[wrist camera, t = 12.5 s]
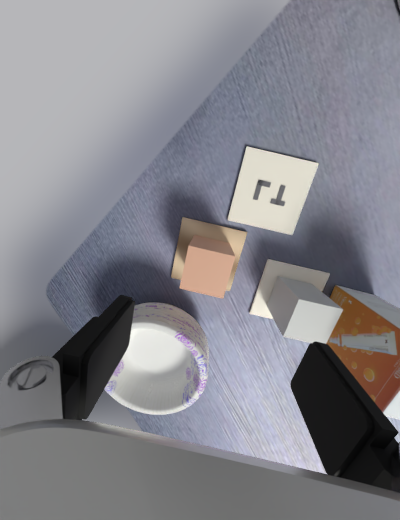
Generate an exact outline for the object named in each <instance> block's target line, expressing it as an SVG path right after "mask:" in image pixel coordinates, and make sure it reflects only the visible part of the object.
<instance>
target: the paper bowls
mask: <svg viewBox="0 0 400 520" xmlns="http://www.w3.org/2000/svg"><path fill="white" fill-rule="evenodd" d="M208 363H209V348H208V342H207V338H206V335H205V333H204V331H203V329H202V328H201V326H200V325H199V324H198V322H197V321H196V320H195V319H194V318H193V317H192V316H191V315H189V314H188V313H186V312H185V311H183V310H182V309H180V308H177V307H175V306H173V305H169V304H165V303H158V302H152V303H151V302H149V303H142V304H139V305H135V307H134V314H133V321H132V328H131V335H130V342H129V346H128V348H127V350H126V352H125V354H124V356H123V357H122V359H121V361H120V363H119V364H118V366H117V368H116V369H115V371H114V373H113V375H112V376H111V378H110V380H109V382H108V383H107V385H106V387H105V390H106V392H107V393H108V394H109V395H110V396H111V397H113V398H114V399H115V400H116V401H118V402H119V403H120V404H122V405H124V406H126V407H128V408H130V409H132V410H135V411H138V412H142V413H146V414H154V415H164V414H171V413H175V412H178V411H181V410H183V409H185V408H187V407H189V406H190V405H192V404H193V403H194V402H195V401H196V400H197V399H198V398H199V397H200V395H201V394H202V392H203V391H204V389H205V386H206V383H207V378H208Z"/></svg>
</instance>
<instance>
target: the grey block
mask: <svg viewBox="0 0 400 520" xmlns="http://www.w3.org/2000/svg"><path fill="white" fill-rule="evenodd" d="M267 307H268V309H269V311H270V313H271V315H272V317H273V319H274V321H275V322H276V324H277V326H278V328H279V330H280V332H281V334H282V335H283V337H287V338H291V339H295V340H300V341H304V342H308V343H313V342H315V341H317V342H321V343H325V344H326V343H327V341H328V339H329V337H330V335H331V333H332V331H333V329H334V327H335V325H336V323H337V321H338V319H339V317H340V315H341V313H342V311H343V309H342V308H341V307H340V306H339V305H337V304H336V303H335V302H334V301H332V300H331V299H330V298H329V297H327V296H326V295H325V294H324V293H322V292H321V291H320V290H319V289H318V288H316V287H315V286H314V285H313V284H311V283H307V282H302V281H298V280H294V279H289V278H285V277H281V276H278V277H277V279H276V282H275V285H274V287H273V290H272V293H271V296H270V298H269V301H268V304H267Z"/></svg>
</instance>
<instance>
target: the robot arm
mask: <svg viewBox="0 0 400 520" xmlns="http://www.w3.org/2000/svg"><path fill="white" fill-rule="evenodd" d="M397 1H398V5H399V9H400V0H397ZM134 307H135V301H132V297H128V296H124V295H120V296H119V297H118V298H117V299H116V300H115V301H114V302H113V303H112V304H111V305H110V306H109V307H108V308H107V309H106V310H105V311H104V312H103V313H102V314H101V315H100V316H99V317H93V318H92V319H91V320H90V321H89V322H88V323H87V324H86V325H85V326H84V327H82V328H81V329H80V330H79V331H78V332H77V333H76V334H75V335H74V336H73V337H72V338H71V339H70V340H69V341H68V342H67V343H66V344H65V345H64V346H63V347H62V348H61V349H60V350H59V351H58V352H57V353H56V354H55V355H54V356H53V357H48V356H39V357H33V358H30V359H27V360H24V361H22V362H20V363H18V364H16V365H15V366H13V367H12V368H11V369H9V370H8V371H7V373H6V374H5V375H4V376H3V378H2V380H1V382H0V520H400V442H399V443H398V442H397V441H396V440H395V439H394V437H395V436H396V435H397V434H398V431H397V430H396V429H395V427H394V426H393V425H392V424H391V422H390V421H389V420H388V419H387V417H386V416H385V415H384V414H383V412H382V411H381V410H380V409H379V407H378V406H377V405H376V404H375V402H374V401H373V400H372V399H371V397H370V396H369V395H368V394H367V392H366V391H365V390H364V389H363V387H362V386H361V385H360V384H359V382H358V381H357V380H356V379H355V377H354V376H353V375H352V374H351V372H350V371H349V370H348V369H347V367H346V366H345V365H344V364H343V362H342V361H341V360H340V359H339V357H338V356H337V355H336V354H335V352H334V351H333V350H332V349H331V347H330V346H329V345H328V344H325V343H321V342H317V341H315V342H313V343H311V344H310V345H309V346H308V348H307V351H306V353H305V355H304V357H303V359H302V361H301V363H300V365H299V367H298V369H297V371H296V373H295V375H294V377H293V379H292V381H291V389H292V392H293V394H294V396H295V399H296V401H297V404H298V406H299V408H300V411H301V413H302V416H303V418H304V420H305V423H306V425H307V428H308V430H309V432H310V435H311V437H312V440H313V442H314V444H315V447H316V449H317V452H318V454H319V456H320V459H321V461H322V464H323V466H324V468H325V471H326V473H327V474H328V475H327V474H323V473H319V472H314V471H310V470H306V469H302V468H298V467H294V466H289V465H285V464H281V463H277V462H272V461H268V460H264V459H260V458H255V457H251V456H247V455H243V454H238V453H234V452H230V451H225V450H221V449H217V448H212V447H208V446H204V445H199V444H195V443H190V442H186V441H182V440H177V439H173V438H168V437H164V436H160V435H155V434H151V433H146V432H142V431H137V430H132V429H127V428H122V427H117V426H112V425H108V424H103V423H96V422H89V421H83V420H82V419H87V418H88V416H89V414H90V413H91V411H92V409H93V408H94V406H95V404H96V402H97V401H98V399H99V397H100V395H101V394H102V392H103V390H104V389H105V387H106V385H107V383H108V382H109V380H110V378H111V376H112V375H113V373H114V371H115V369H116V368H117V366H118V364H119V363H120V361H121V359H122V357H123V356H124V354H125V352H126V350H127V348H128V346H129V342H130V335H131V328H132V321H133V314H134Z"/></svg>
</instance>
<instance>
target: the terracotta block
mask: <svg viewBox="0 0 400 520" xmlns="http://www.w3.org/2000/svg"><path fill="white" fill-rule="evenodd" d="M234 260H235V254H234V252H233V250H232V248H231V245H230V243H227V242H223V241H219V240H214V239H210V238H206V237H202V236H197V235H194V236H193V238H192V240H191V242H190V244H189V246H188V251H187V255H186V260H185V265H184V269H183V274H182V279H181V283H180V289H184V290H188V291H193V292H197V293H201V294H206V295H210V296H214V297H219V298H223V297H224V294H225V291H226V287H227V284H228V280H229V277H230V274H231V270H232V267H233V263H234Z"/></svg>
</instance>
